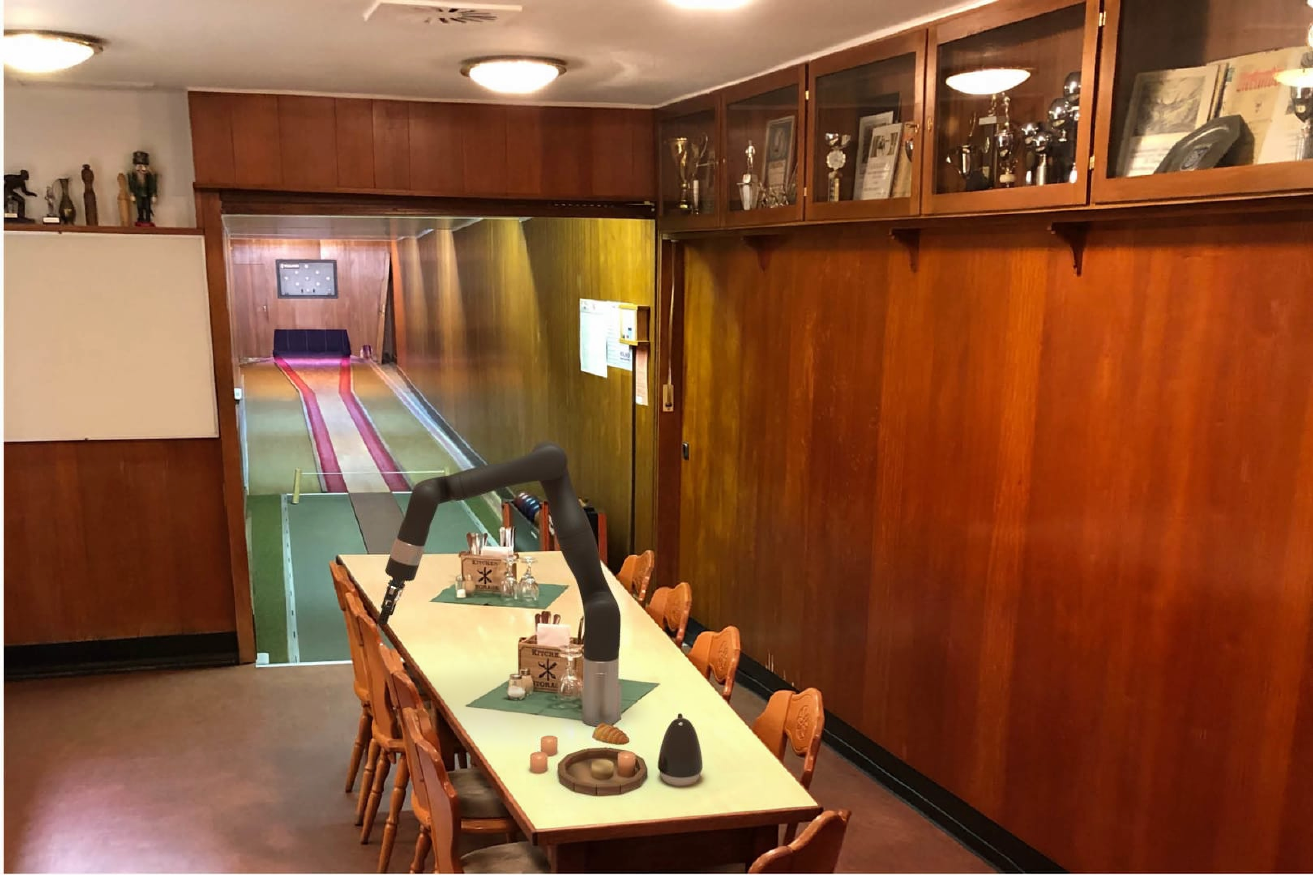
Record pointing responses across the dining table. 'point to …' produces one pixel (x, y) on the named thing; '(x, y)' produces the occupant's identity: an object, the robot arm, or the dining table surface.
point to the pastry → (610, 735)
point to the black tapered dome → (680, 754)
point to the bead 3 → (626, 764)
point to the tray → (591, 786)
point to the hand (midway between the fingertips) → (385, 618)
